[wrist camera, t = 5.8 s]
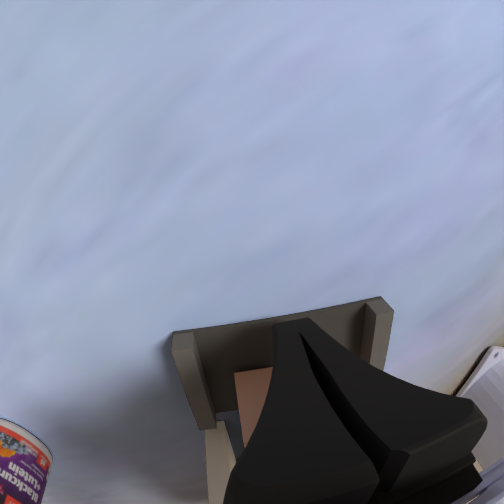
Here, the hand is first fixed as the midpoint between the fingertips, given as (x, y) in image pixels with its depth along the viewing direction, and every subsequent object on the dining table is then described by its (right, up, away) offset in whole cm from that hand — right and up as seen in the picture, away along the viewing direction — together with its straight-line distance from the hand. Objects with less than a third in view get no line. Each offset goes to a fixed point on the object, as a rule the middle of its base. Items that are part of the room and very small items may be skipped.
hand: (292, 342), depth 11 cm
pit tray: (0, -1, +2) cm, 3 cm away
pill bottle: (-17, -10, +3) cm, 20 cm away
